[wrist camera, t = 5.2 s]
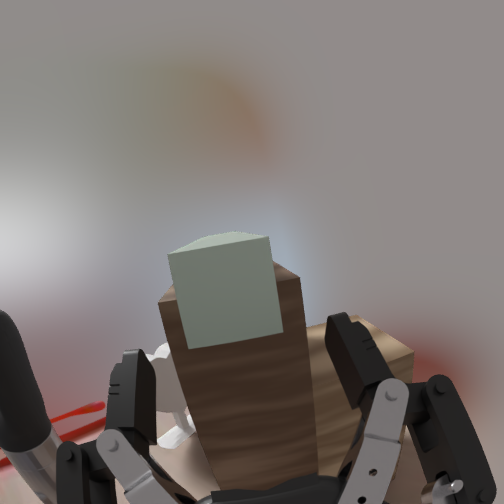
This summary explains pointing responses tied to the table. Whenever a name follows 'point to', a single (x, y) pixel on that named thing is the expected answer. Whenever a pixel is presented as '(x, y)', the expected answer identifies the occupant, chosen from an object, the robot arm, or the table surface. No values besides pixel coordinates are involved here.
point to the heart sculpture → (170, 398)
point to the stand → (272, 395)
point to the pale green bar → (226, 289)
